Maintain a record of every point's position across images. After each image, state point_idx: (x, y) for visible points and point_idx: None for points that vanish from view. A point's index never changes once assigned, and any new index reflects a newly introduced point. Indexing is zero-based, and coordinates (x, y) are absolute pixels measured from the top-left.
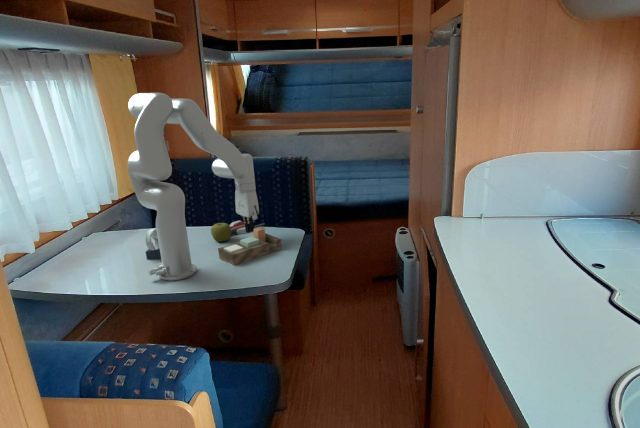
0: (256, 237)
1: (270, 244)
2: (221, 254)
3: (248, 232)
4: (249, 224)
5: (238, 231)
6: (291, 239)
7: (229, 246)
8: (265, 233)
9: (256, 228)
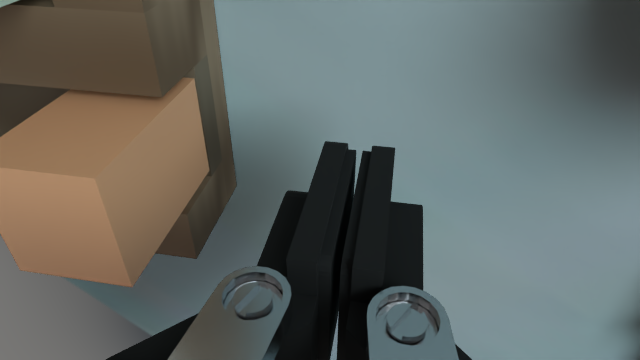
0: (101, 106)
1: (3, 126)
2: None
3: (325, 151)
4: (262, 266)
5: None
6: (170, 315)
7: None
8: (192, 256)
9: (107, 229)
